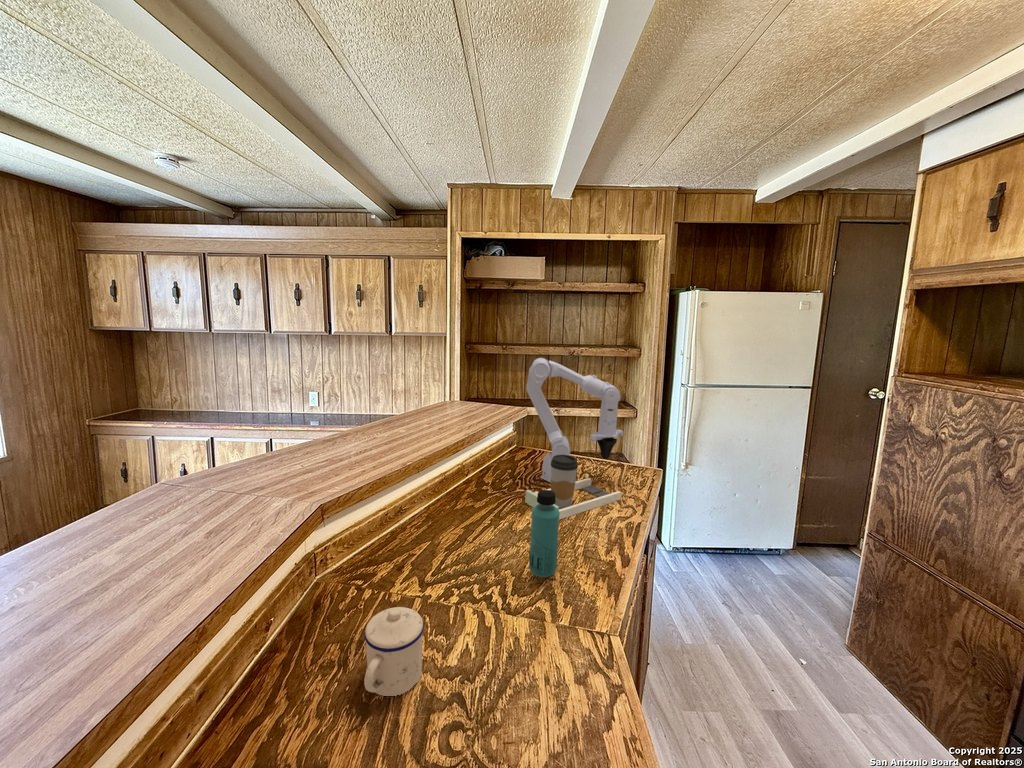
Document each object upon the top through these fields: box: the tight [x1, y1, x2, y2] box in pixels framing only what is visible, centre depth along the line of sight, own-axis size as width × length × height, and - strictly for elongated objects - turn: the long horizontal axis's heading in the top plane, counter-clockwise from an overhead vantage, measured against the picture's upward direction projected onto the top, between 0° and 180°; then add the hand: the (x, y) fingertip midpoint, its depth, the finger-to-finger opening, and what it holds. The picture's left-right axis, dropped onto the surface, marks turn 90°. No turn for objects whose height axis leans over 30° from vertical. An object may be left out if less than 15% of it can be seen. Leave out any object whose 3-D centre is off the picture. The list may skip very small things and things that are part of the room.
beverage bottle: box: [528, 489, 560, 578], centre depth 98 cm, size 6×7×20 cm
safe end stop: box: [524, 489, 560, 510], centre depth 131 cm, size 14×1×4 cm, turn 36°
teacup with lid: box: [363, 606, 425, 697], centre depth 69 cm, size 12×9×12 cm
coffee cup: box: [550, 455, 579, 510], centre depth 135 cm, size 8×8×15 cm
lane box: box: [534, 477, 622, 521], centre depth 139 cm, size 14×28×2 cm, turn 126°
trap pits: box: [581, 484, 611, 498], centre depth 146 cm, size 11×5×1 cm, turn 36°
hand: (605, 458), depth 153 cm, fingers closed
